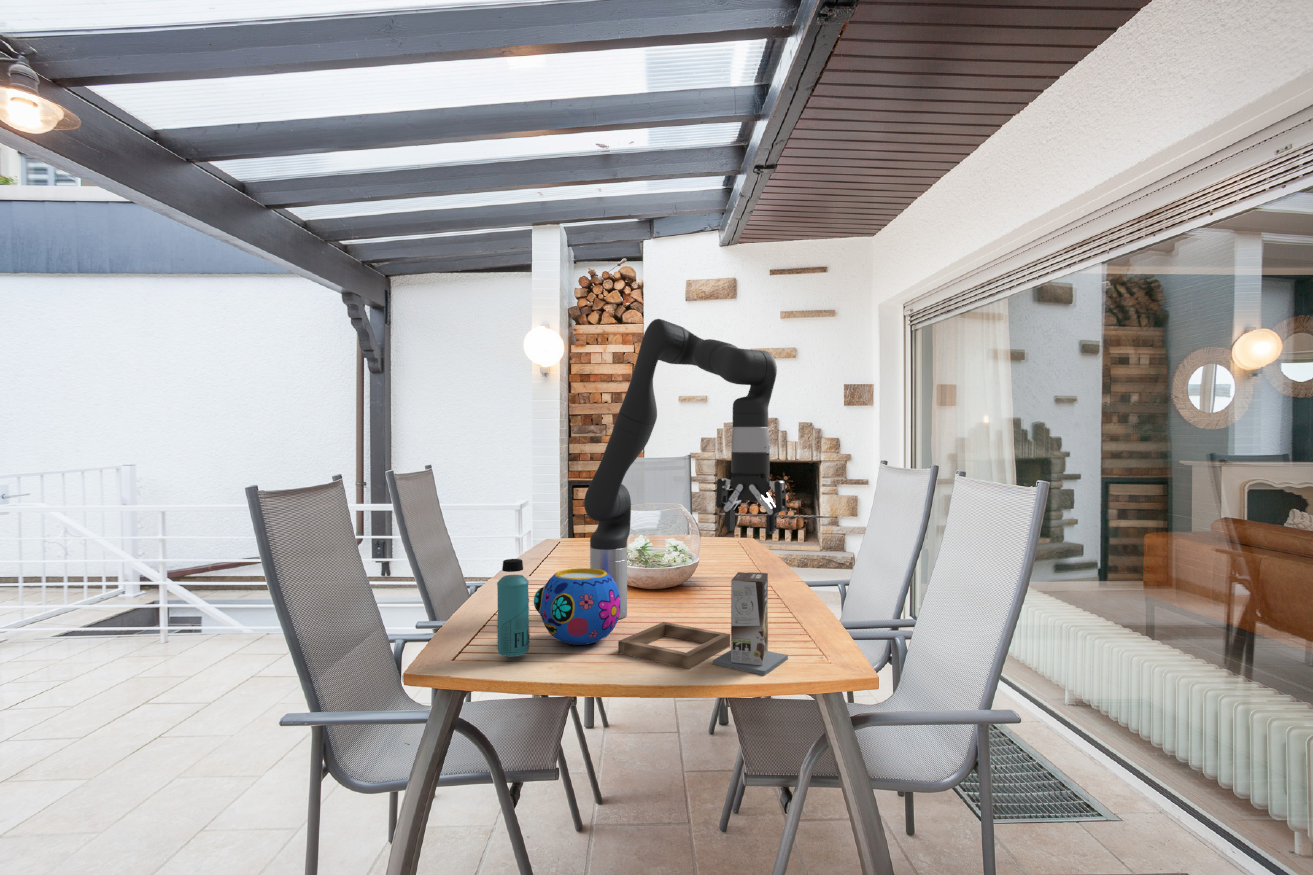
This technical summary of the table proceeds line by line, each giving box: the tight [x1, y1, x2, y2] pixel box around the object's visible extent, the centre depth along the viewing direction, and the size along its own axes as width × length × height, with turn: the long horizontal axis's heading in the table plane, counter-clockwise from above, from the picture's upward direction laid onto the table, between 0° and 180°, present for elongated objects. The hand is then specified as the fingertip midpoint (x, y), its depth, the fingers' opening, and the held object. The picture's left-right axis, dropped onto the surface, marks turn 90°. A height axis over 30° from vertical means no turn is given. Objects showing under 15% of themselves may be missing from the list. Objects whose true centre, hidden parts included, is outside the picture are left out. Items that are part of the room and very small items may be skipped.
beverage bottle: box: [496, 558, 531, 657], centre depth 131 cm, size 6×7×20 cm
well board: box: [617, 621, 731, 670], centre depth 137 cm, size 17×17×2 cm
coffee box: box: [730, 571, 769, 666], centre depth 130 cm, size 9×6×16 cm
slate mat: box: [712, 649, 789, 676], centre depth 129 cm, size 11×11×1 cm
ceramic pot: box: [533, 567, 621, 646], centre depth 142 cm, size 18×18×15 cm
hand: (750, 531), depth 129 cm, fingers open, 8 cm apart
